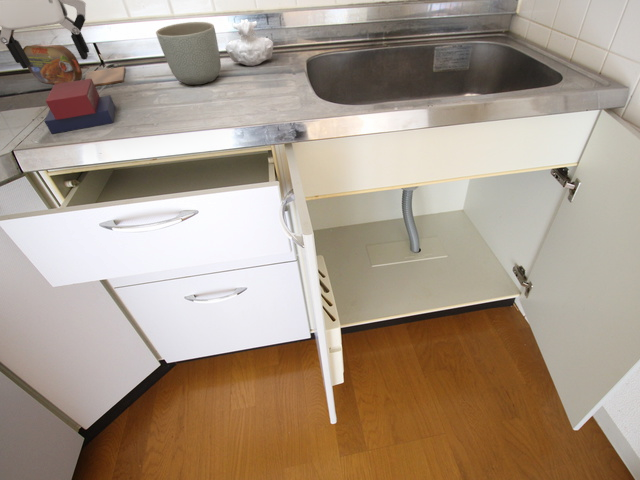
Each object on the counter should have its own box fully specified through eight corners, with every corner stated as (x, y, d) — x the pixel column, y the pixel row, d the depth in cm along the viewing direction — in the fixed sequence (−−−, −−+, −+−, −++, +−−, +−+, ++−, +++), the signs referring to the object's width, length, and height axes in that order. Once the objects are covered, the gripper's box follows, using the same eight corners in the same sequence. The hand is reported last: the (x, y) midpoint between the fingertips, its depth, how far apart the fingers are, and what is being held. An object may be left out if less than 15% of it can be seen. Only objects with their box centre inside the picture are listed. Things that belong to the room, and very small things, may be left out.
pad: (83, 88, 93) (82, 86, 93) (88, 74, 101) (87, 72, 101) (123, 82, 95) (122, 79, 95) (125, 68, 103) (124, 66, 103)
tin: (34, 82, 98) (13, 45, 92) (45, 78, 100) (25, 41, 94) (80, 86, 94) (61, 48, 88) (90, 82, 96) (72, 44, 90)
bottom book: (51, 134, 75) (44, 121, 73) (58, 116, 81) (51, 104, 79) (113, 122, 77) (107, 110, 75) (115, 106, 83) (110, 94, 82)
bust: (231, 75, 102) (221, 44, 91) (227, 49, 103) (217, 16, 92) (277, 70, 103) (273, 39, 92) (273, 44, 104) (268, 11, 93)
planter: (164, 89, 90) (145, 36, 82) (186, 71, 99) (171, 22, 91) (215, 89, 88) (200, 35, 81) (233, 71, 97) (221, 21, 90)
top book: (56, 120, 73) (45, 101, 71) (63, 101, 80) (54, 84, 78) (95, 113, 75) (86, 94, 72) (99, 95, 82) (91, 78, 79)
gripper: (59, -65, 64) (108, 49, 76) (-64, -55, 60) (8, 64, 72) (51, -63, 59) (106, 59, 71) (-84, -52, 55) (-3, 76, 67)
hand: (56, 61), depth 72 cm, fingers open, 9 cm apart
